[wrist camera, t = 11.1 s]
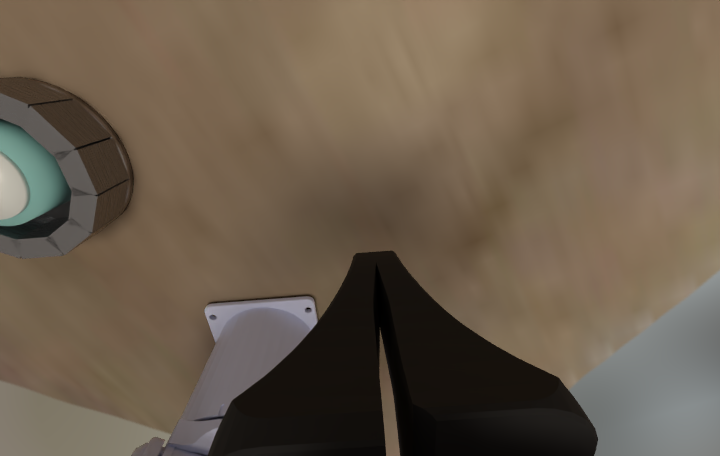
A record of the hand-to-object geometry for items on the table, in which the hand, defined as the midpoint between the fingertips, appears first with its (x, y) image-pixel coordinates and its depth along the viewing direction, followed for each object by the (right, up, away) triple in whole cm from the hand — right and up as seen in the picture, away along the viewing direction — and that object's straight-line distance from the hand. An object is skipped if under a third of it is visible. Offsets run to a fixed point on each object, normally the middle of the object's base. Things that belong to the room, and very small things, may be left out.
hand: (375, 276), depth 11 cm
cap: (-19, +5, +8) cm, 21 cm away
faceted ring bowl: (-19, +6, +8) cm, 21 cm away
